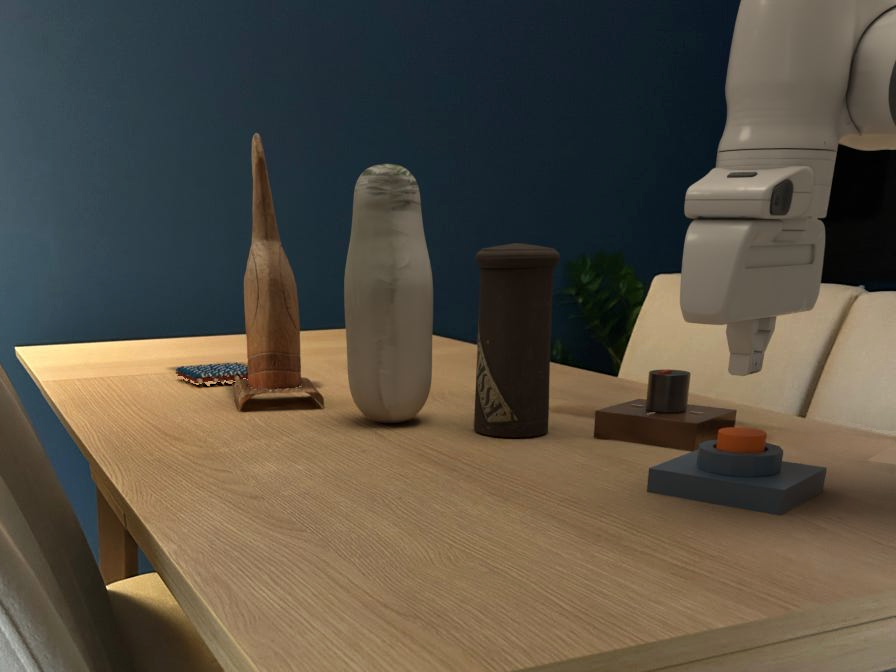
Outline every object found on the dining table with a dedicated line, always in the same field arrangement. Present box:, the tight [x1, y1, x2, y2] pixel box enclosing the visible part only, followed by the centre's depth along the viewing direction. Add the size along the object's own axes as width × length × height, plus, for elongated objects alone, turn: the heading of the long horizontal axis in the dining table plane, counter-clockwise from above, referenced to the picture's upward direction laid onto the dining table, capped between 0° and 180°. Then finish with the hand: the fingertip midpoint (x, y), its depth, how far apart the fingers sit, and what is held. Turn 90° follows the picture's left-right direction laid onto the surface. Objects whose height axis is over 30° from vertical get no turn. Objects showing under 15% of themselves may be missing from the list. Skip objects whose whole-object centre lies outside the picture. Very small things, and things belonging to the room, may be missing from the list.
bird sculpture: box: [232, 132, 325, 411], centre depth 123 cm, size 11×12×32 cm
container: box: [473, 242, 561, 438], centre depth 107 cm, size 9×9×20 cm
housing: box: [646, 440, 828, 516], centre depth 85 cm, size 12×10×4 cm
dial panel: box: [593, 398, 738, 452], centre depth 107 cm, size 12×10×3 cm
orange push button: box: [716, 426, 768, 453], centre depth 84 cm, size 4×4×2 cm
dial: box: [646, 368, 692, 413], centre depth 106 cm, size 4×4×4 cm
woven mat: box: [175, 361, 248, 384], centre depth 147 cm, size 10×11×2 cm
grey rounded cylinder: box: [343, 163, 434, 424], centre depth 112 cm, size 10×10×28 cm
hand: (744, 373), depth 82 cm, fingers closed
